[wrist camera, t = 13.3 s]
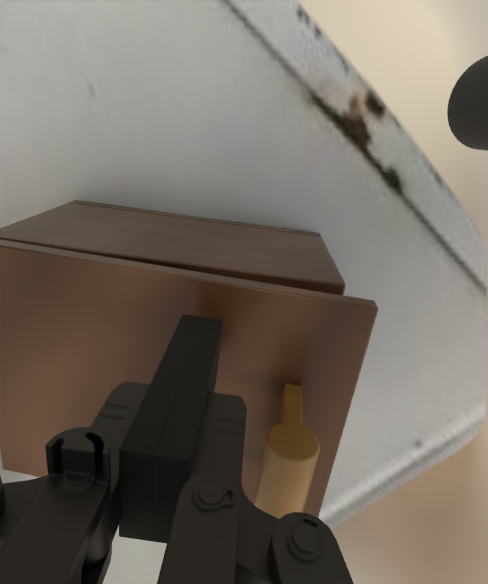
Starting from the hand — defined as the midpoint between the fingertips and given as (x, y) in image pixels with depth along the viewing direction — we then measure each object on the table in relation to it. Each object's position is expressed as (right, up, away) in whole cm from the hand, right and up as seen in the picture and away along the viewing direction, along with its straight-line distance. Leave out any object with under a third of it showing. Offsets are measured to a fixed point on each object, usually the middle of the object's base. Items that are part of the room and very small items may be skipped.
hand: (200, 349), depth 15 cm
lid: (-2, -3, +4) cm, 5 cm away
